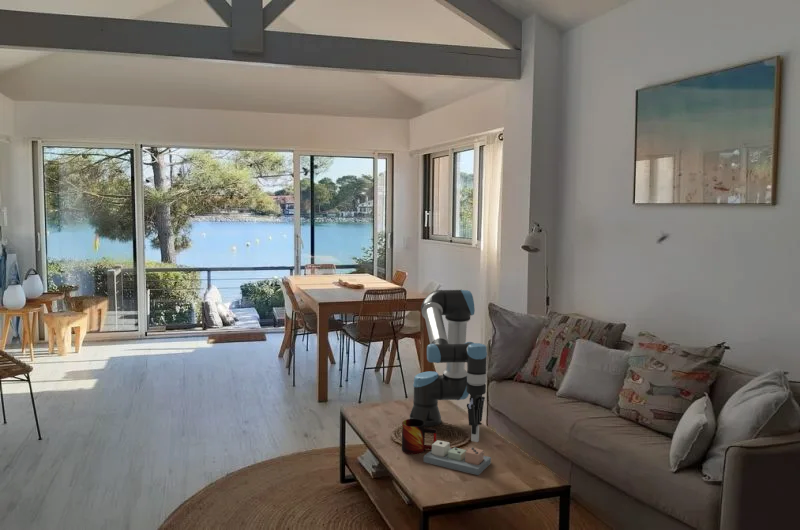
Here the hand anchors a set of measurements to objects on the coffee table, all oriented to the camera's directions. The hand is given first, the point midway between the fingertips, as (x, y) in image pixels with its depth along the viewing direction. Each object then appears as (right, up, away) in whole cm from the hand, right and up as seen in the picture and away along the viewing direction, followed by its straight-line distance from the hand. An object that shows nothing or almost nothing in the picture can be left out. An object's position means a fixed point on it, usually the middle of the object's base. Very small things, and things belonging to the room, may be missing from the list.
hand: (475, 440), depth 257 cm
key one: (-13, -7, +9) cm, 17 cm away
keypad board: (-7, -10, +5) cm, 13 cm away
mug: (-22, -9, +18) cm, 30 cm away
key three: (0, -8, +1) cm, 9 cm away
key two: (-7, -10, +5) cm, 13 cm away
